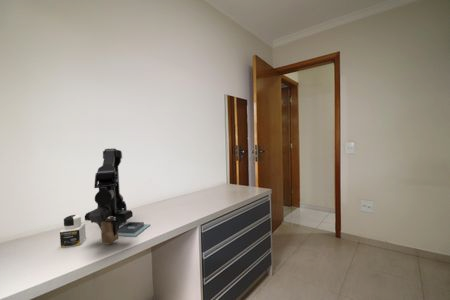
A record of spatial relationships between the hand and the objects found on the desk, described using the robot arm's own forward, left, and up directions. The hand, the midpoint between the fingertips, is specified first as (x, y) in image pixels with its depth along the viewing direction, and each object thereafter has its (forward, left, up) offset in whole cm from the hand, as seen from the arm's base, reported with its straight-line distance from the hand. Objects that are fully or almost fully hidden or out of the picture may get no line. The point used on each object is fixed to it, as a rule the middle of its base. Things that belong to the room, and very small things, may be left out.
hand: (110, 235), depth 88 cm
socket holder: (+1, +14, -4) cm, 15 cm away
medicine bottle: (-18, 0, -4) cm, 19 cm away
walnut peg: (0, 0, -3) cm, 3 cm away
